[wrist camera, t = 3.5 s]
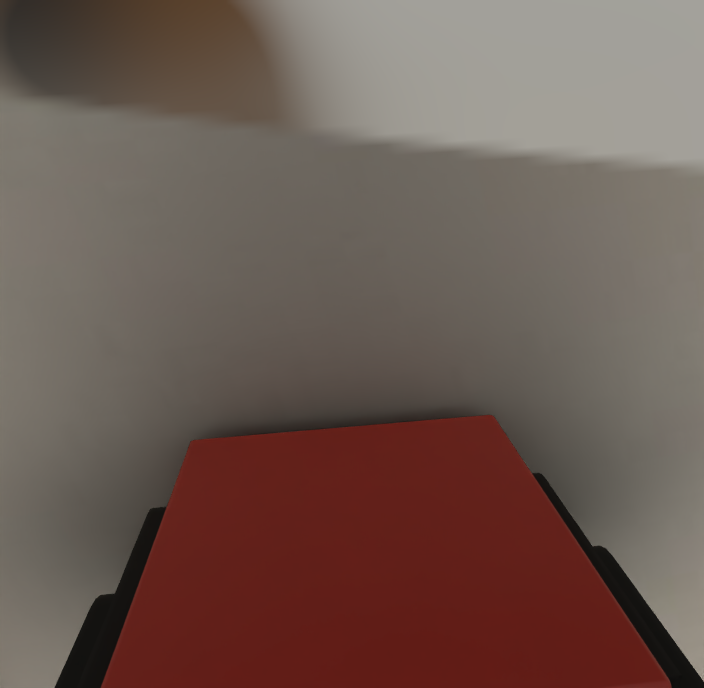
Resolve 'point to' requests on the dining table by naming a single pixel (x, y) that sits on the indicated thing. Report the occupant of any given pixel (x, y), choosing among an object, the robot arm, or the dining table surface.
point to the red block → (371, 570)
